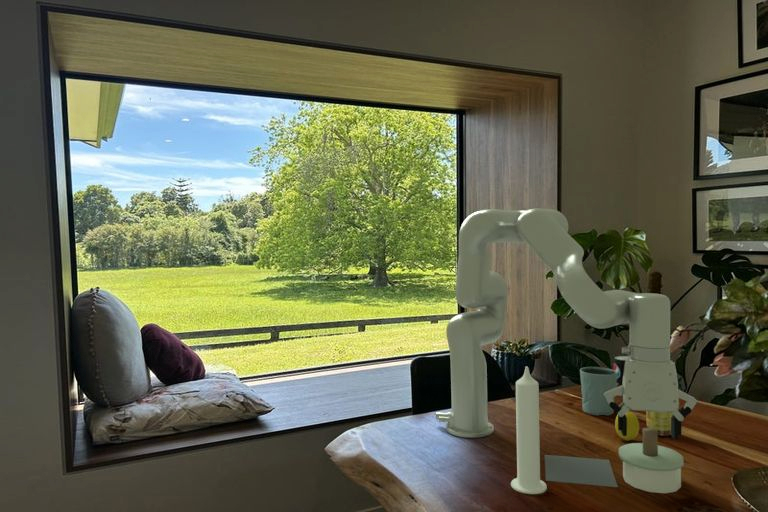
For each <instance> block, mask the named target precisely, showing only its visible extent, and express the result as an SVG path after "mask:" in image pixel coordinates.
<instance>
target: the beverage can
mask: <svg viewBox="0 0 768 512" xmlns="http://www.w3.org/2000/svg"><path fill="white" fill-rule="evenodd" d="M626 358H629V355H628V356H627V355H626V356H625V355H618V356H615V357H614V360H613V370H615V371H616V372H617V381H616V387H619V386H621V385H622V382H623V372H624V366H625V361H626ZM617 396H618V397H621V398H622V394H619V395H617Z"/></svg>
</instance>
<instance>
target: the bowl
mask: <svg viewBox="0 0 768 512" xmlns="http://www.w3.org/2000/svg"><path fill="white" fill-rule="evenodd" d="M622 477H623V480H624V482H625V483H626V484H628V485H630V486H631V487H633V488H635V489H639V490H642V491H644V492H647V493H648V492H649V493H658V494H669V493H676V492H677V491H678V490H680V489H681V488H682V467H681V468H680V469H677V470H672V471H654V470H647V469H643V468H639V467H635V466H632V465H630V464H628V463H626V462H624V461H623V460H622Z"/></svg>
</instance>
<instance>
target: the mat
mask: <svg viewBox="0 0 768 512" xmlns="http://www.w3.org/2000/svg"><path fill="white" fill-rule="evenodd" d="M544 470H545V471H544V472H545V482H555V483H564V484H565V483H566V484H576V485H577V484H578V485H585V486H586V485H587V486H599V487H608V488H609V487H610V488H619V486H618V485H619V484H618V483H617V480H616V477H615V475H614V472H613V471H614V470H613V468H612V466H611V463H610V460H609V459H603V458H592V457H591V458H590V457H578V456H577V457H576V456H567V455H566V456H564V455H553V454H544Z"/></svg>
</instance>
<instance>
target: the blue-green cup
mask: <svg viewBox="0 0 768 512" xmlns="http://www.w3.org/2000/svg"><path fill="white" fill-rule="evenodd" d="M579 376H580V385H581V396H582V399H581V403H582V404H581V405H582V411H583V412H584V413H585V414H589V415H592V416H599V415H606V416H610V415H613V414H614V413H615V411H614V410H613V409H612V408H611V407H610V405H609V403H608V402H607V400H606V398H605V396H604V393H605V392H606V391H609V390H611V389H614V388H616V381H617V372H616V371H615V370H614V369H611V368H608V367H607V368H606V367H602V366H601V367H600V366H599V367H598V366H586V367H582V368H579ZM615 399H616V396H614V397H613V400H614V401H615Z"/></svg>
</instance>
